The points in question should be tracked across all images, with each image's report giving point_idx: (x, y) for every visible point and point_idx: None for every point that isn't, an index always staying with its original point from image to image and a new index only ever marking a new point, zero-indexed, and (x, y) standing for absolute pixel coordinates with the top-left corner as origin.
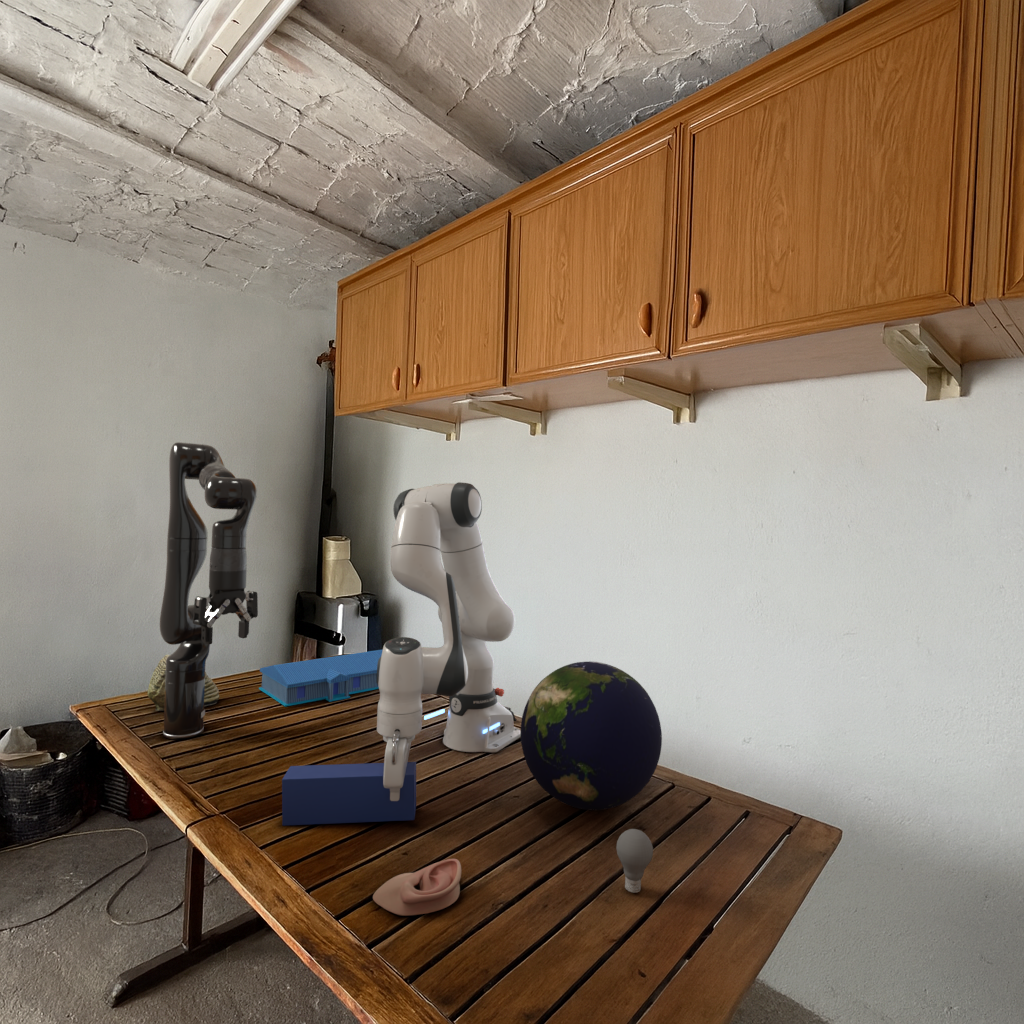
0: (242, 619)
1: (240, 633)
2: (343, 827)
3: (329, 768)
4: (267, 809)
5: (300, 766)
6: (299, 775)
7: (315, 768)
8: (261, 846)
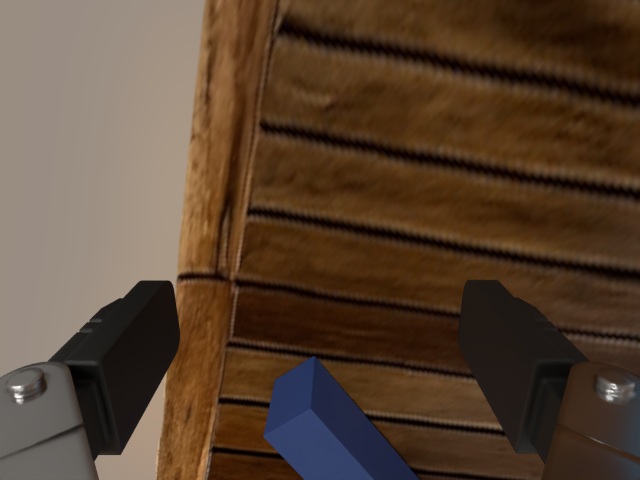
0: (551, 424)
1: (475, 317)
2: None
3: (341, 469)
4: (292, 327)
5: (319, 425)
6: (291, 448)
7: (328, 451)
8: (221, 398)
